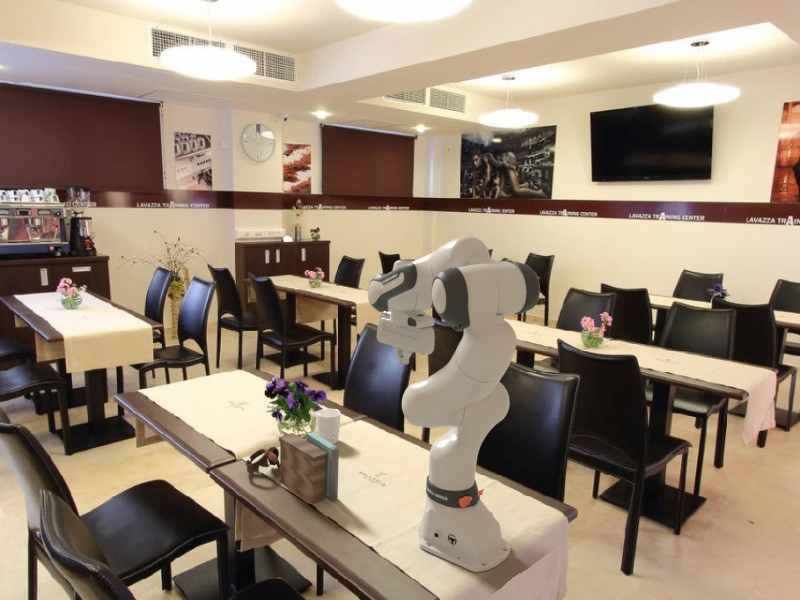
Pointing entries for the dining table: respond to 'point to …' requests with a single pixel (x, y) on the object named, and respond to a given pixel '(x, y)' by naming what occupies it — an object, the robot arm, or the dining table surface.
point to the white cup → (328, 424)
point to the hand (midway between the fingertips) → (403, 363)
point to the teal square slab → (328, 464)
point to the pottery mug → (264, 460)
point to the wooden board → (303, 467)
